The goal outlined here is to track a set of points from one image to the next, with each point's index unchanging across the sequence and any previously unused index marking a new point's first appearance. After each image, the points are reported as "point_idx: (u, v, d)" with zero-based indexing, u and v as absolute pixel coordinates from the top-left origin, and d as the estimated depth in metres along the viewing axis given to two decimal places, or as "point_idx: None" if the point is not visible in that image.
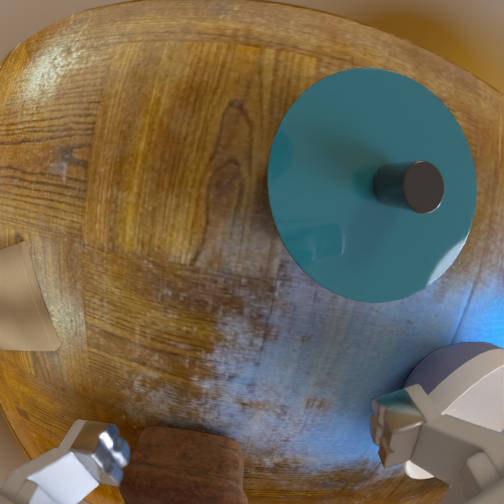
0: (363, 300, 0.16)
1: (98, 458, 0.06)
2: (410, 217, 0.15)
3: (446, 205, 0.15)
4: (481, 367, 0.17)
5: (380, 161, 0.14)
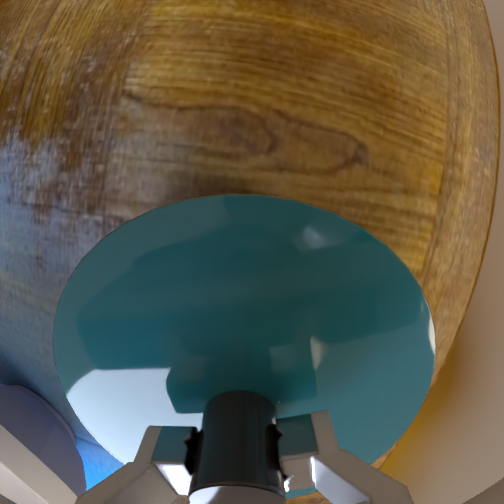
0: (57, 367, 0.08)
1: (188, 467, 0.06)
2: None
3: None
4: (50, 491, 0.11)
5: (280, 400, 0.08)
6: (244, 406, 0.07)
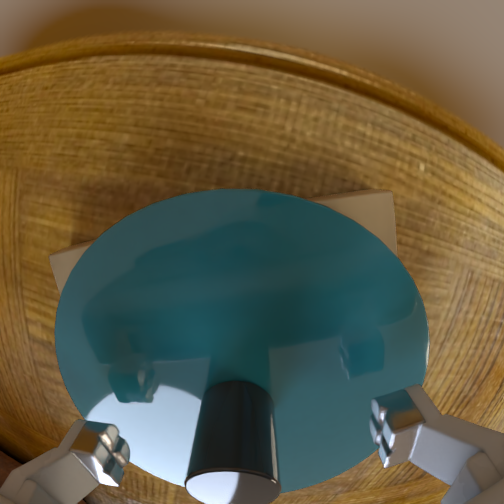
0: (58, 358, 0.08)
1: (98, 458, 0.06)
2: (190, 429, 0.09)
3: None
4: None
5: (276, 390, 0.09)
6: (240, 395, 0.08)
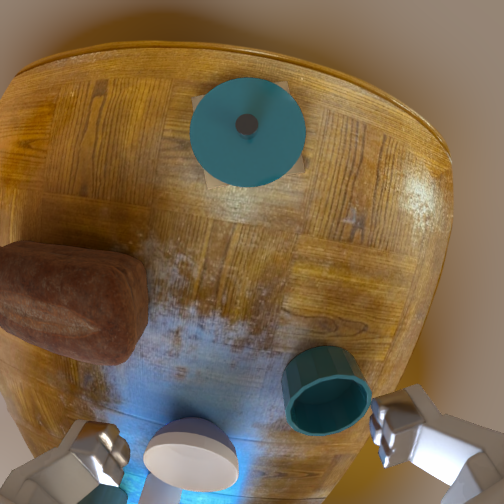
0: (191, 122, 0.32)
1: (98, 458, 0.06)
2: (232, 141, 0.32)
3: (239, 163, 0.33)
4: (235, 461, 0.37)
5: (258, 123, 0.32)
6: None
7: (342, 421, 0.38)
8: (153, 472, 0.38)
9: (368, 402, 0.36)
